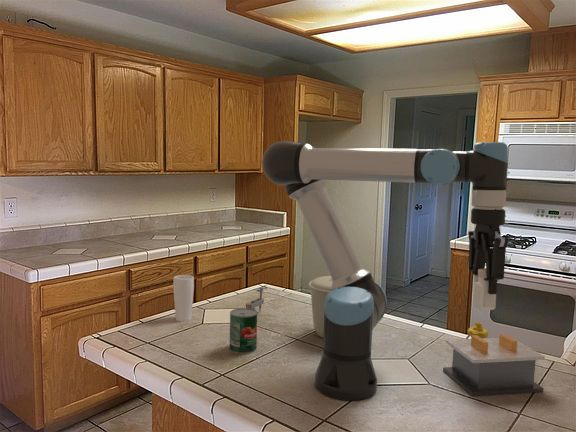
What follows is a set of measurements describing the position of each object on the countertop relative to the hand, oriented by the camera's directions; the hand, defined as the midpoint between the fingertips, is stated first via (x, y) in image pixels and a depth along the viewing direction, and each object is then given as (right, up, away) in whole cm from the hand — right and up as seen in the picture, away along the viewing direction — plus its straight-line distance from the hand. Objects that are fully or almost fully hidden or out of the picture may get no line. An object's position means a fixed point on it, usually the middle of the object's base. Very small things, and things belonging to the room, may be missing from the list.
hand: (484, 303), depth 115 cm
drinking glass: (-83, -14, +46) cm, 96 cm away
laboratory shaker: (+4, -21, +6) cm, 22 cm away
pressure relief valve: (+9, -20, +20) cm, 29 cm away
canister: (-32, -17, +36) cm, 51 cm away
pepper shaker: (0, -1, 0) cm, 1 cm away
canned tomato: (-61, -18, +23) cm, 67 cm away
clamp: (-59, -15, +52) cm, 80 cm away
